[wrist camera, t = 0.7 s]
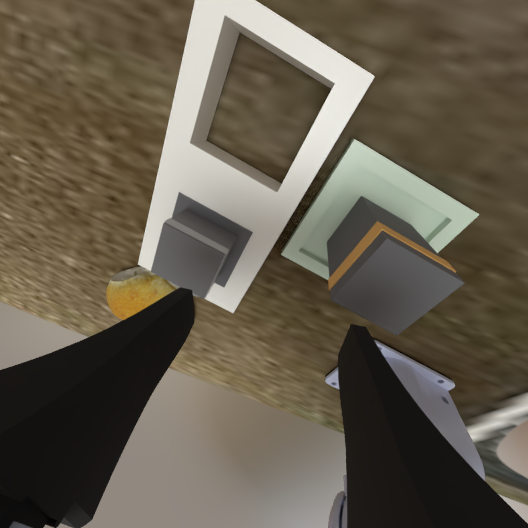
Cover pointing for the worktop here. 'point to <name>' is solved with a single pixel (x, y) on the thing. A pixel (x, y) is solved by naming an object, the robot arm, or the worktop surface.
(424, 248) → the plug
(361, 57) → the worktop surface
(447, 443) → the robot arm
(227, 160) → the strip
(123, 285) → the bread roll
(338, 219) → the tray
